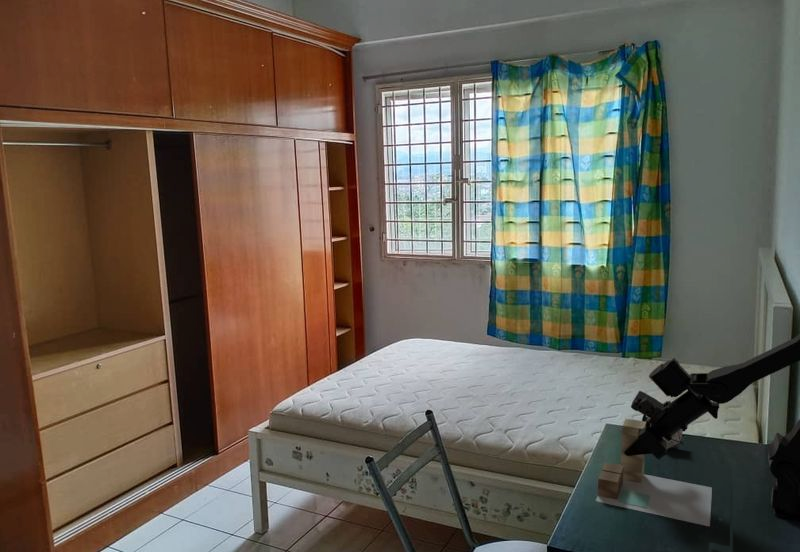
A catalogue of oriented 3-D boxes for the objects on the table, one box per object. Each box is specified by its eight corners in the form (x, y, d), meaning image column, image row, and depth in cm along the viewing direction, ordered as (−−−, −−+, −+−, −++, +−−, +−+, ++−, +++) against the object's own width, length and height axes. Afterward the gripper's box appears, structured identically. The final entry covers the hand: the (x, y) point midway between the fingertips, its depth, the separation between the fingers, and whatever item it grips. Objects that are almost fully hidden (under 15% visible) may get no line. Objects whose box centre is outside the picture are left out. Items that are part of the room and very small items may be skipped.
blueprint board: (711, 491, 138) (712, 487, 138) (709, 530, 123) (709, 525, 123) (608, 471, 148) (609, 466, 148) (595, 505, 133) (595, 500, 133)
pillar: (643, 474, 144) (646, 421, 142) (641, 483, 140) (643, 429, 138) (623, 470, 146) (625, 418, 144) (620, 479, 142) (622, 425, 140)
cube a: (619, 491, 137) (620, 474, 136) (616, 499, 134) (617, 482, 133) (601, 487, 139) (601, 470, 138) (597, 495, 135) (598, 478, 135)
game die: (659, 463, 159) (637, 435, 158) (663, 440, 166) (642, 413, 164) (693, 456, 154) (670, 426, 152) (695, 432, 160) (673, 404, 159)
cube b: (622, 482, 141) (623, 465, 140) (620, 490, 137) (620, 473, 137) (604, 478, 143) (605, 462, 142) (601, 486, 139) (602, 469, 139)
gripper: (658, 371, 146) (608, 408, 153) (651, 397, 130) (595, 437, 136) (693, 408, 144) (640, 444, 151) (690, 439, 127) (631, 478, 134)
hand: (626, 449), depth 143 cm, fingers closed on pillar, 4 cm apart
